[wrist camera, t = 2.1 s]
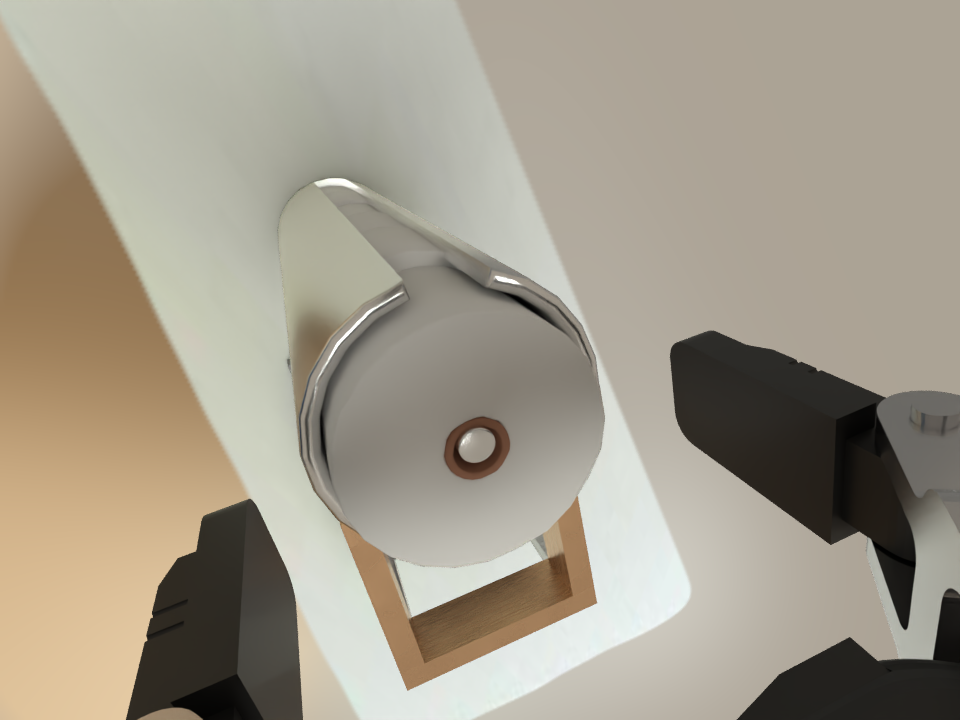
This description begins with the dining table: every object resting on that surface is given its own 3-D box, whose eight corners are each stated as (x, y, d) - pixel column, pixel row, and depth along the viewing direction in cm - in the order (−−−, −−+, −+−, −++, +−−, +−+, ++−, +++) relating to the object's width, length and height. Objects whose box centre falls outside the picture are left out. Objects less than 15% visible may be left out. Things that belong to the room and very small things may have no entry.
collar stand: (287, 359, 35) (297, 479, 23) (475, 298, 37) (573, 377, 25) (366, 560, 42) (406, 733, 30) (521, 497, 44) (616, 633, 32)
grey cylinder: (412, 207, 34) (680, 347, 12) (370, 309, 35) (541, 604, 13) (302, 157, 31) (385, 217, 9) (260, 269, 33) (246, 559, 11)
